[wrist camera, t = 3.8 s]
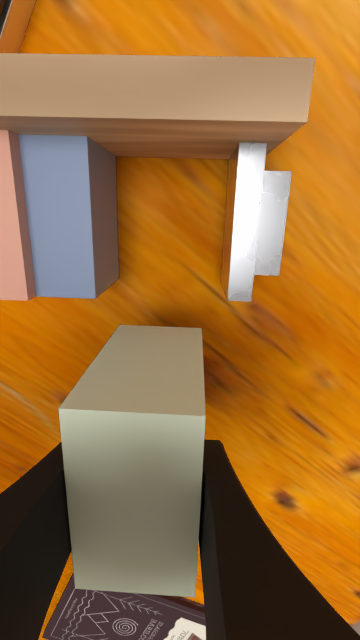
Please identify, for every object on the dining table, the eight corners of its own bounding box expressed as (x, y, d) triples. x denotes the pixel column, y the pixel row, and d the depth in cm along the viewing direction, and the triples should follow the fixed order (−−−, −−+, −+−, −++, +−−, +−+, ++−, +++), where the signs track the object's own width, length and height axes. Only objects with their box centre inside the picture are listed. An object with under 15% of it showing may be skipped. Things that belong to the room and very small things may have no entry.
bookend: (276, 283, 18) (299, 303, 14) (220, 281, 18) (227, 300, 14) (291, 160, 16) (322, 144, 12) (228, 159, 16) (239, 142, 12)
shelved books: (119, 278, 18) (90, 303, 13) (28, 274, 18) (-34, 298, 13) (115, 156, 16) (80, 131, 11) (14, 153, 16) (-64, 128, 11)
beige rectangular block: (196, 447, 16) (195, 597, 10) (123, 443, 16) (75, 588, 10) (202, 328, 14) (205, 416, 8) (119, 324, 14) (58, 408, 8)
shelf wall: (260, 160, 16) (307, 122, 9) (14, 153, 16) (-110, 113, 10) (263, 124, 15) (315, 58, 9) (10, 119, 16) (-124, 51, 9)
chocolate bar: (77, 567, 24) (292, 644, 26) (81, 554, 25) (288, 629, 27) (42, 637, 27) (238, 702, 29) (47, 623, 28) (237, 687, 30)
